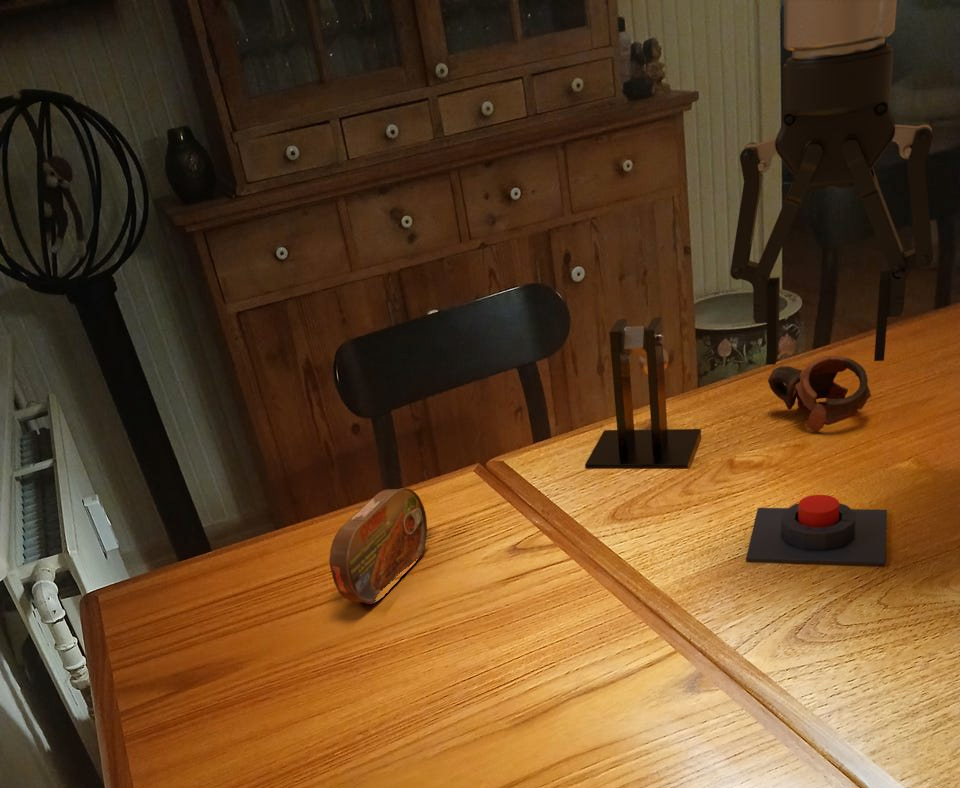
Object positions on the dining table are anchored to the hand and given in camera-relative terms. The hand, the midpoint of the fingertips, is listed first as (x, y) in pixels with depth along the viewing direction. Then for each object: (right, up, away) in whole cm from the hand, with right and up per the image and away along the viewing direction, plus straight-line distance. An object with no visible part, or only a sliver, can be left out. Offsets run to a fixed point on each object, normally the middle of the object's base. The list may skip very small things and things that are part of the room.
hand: (825, 356), depth 83 cm
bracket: (-10, -2, +35) cm, 36 cm away
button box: (+3, -16, +11) cm, 19 cm away
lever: (-10, +8, +32) cm, 34 cm away
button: (+2, -13, +9) cm, 16 cm away
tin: (-39, -18, +19) cm, 47 cm away
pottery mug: (+12, +3, +36) cm, 38 cm away
